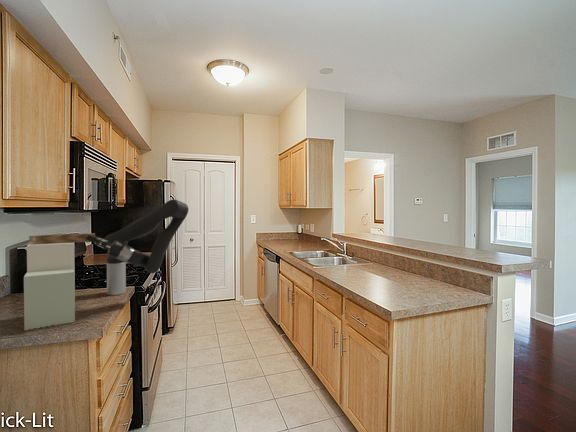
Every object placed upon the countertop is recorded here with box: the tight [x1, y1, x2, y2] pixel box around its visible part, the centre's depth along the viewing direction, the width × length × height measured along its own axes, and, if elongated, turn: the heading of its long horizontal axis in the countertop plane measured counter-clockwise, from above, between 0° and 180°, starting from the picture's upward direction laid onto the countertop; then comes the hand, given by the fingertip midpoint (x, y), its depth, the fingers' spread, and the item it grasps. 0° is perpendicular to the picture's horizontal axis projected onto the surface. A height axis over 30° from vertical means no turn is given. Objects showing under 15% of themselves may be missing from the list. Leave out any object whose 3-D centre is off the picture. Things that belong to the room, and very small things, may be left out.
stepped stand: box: [23, 243, 76, 331], centre depth 130 cm, size 20×16×32 cm
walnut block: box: [28, 232, 96, 245], centre depth 136 cm, size 24×4×4 cm, turn 125°
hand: (86, 236), depth 141 cm, fingers open, 8 cm apart
